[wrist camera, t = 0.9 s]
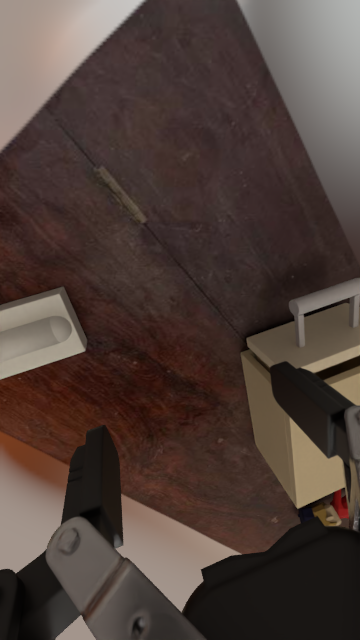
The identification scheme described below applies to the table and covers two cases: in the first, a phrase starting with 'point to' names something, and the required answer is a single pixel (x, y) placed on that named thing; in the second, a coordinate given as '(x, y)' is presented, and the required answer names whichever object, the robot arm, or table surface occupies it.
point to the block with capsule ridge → (38, 332)
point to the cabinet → (294, 436)
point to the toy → (327, 511)
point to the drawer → (316, 334)
